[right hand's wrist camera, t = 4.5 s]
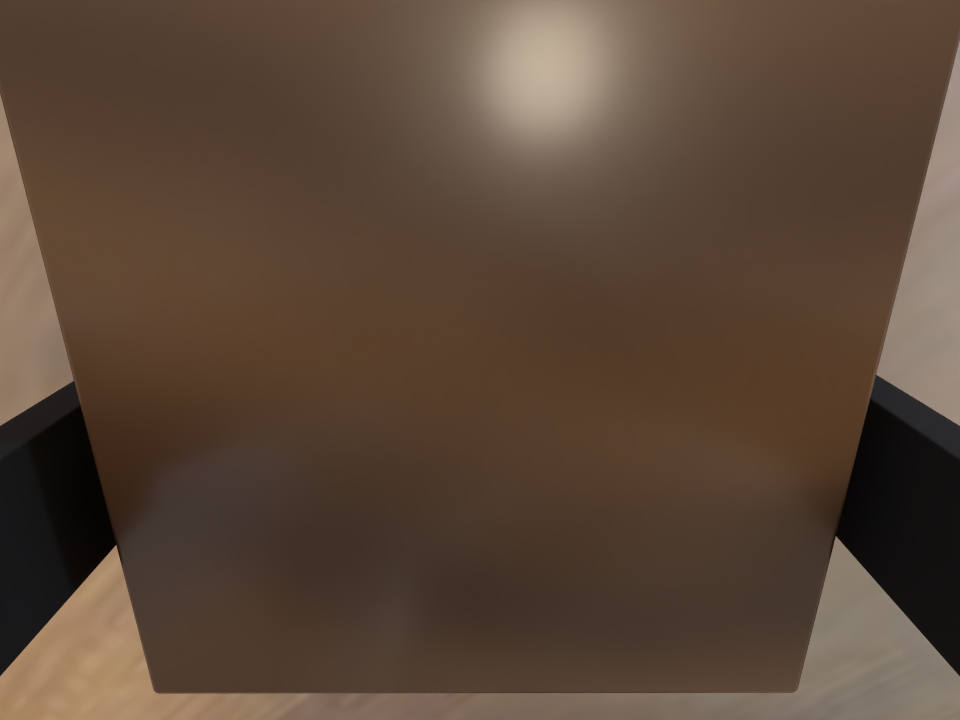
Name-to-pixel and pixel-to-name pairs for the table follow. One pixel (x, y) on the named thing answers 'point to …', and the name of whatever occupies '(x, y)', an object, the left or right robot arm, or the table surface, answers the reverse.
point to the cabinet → (474, 322)
